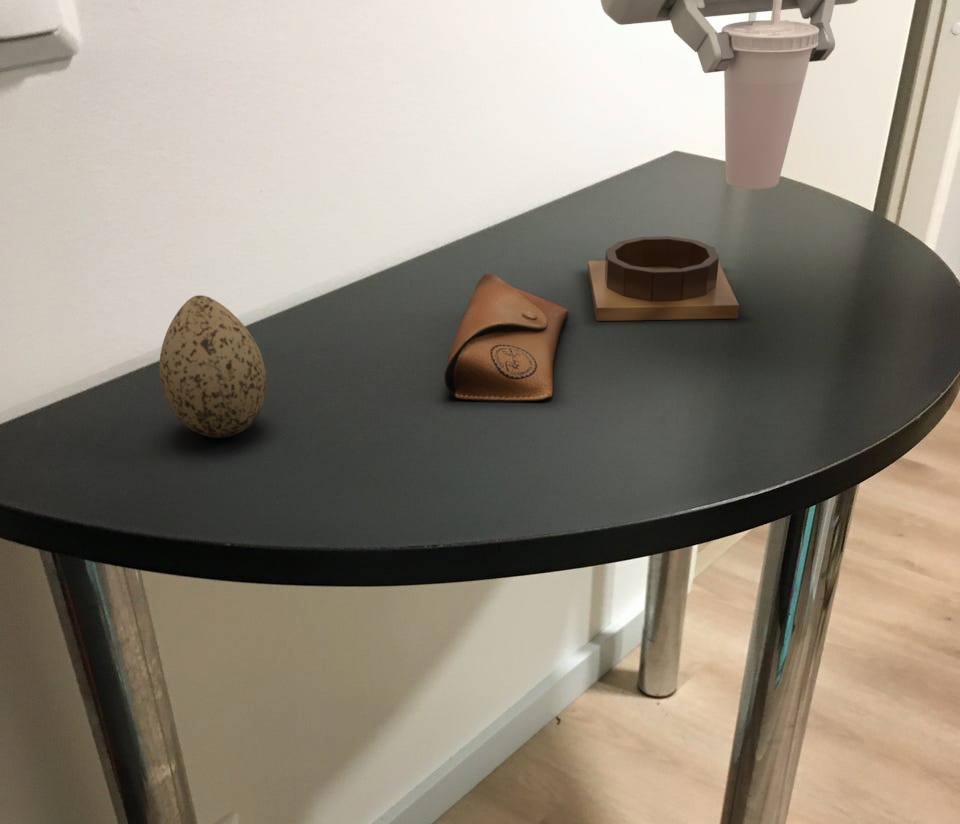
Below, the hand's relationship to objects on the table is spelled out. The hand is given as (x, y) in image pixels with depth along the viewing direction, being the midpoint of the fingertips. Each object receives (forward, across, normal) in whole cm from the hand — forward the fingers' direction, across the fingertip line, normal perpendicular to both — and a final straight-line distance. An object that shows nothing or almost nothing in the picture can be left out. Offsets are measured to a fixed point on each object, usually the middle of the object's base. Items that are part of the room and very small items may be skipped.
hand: (771, 61), depth 73 cm
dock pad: (+4, +2, +27) cm, 27 cm away
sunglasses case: (+9, -15, +22) cm, 28 cm away
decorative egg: (+12, -39, +18) cm, 45 cm away
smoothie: (+5, 0, +6) cm, 8 cm away
